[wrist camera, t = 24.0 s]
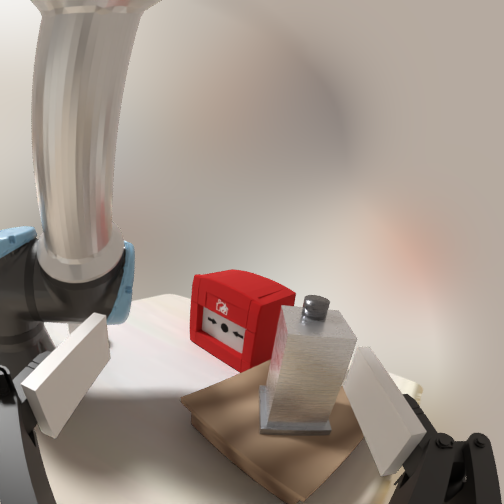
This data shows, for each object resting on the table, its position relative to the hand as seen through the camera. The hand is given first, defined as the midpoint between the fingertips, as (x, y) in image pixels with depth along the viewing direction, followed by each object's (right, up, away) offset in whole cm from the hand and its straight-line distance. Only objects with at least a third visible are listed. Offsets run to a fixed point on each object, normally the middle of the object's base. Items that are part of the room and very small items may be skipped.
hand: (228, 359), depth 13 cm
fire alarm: (-2, -14, +41) cm, 44 cm away
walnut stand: (+6, -20, +20) cm, 29 cm away
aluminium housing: (+6, -15, +18) cm, 25 cm away
